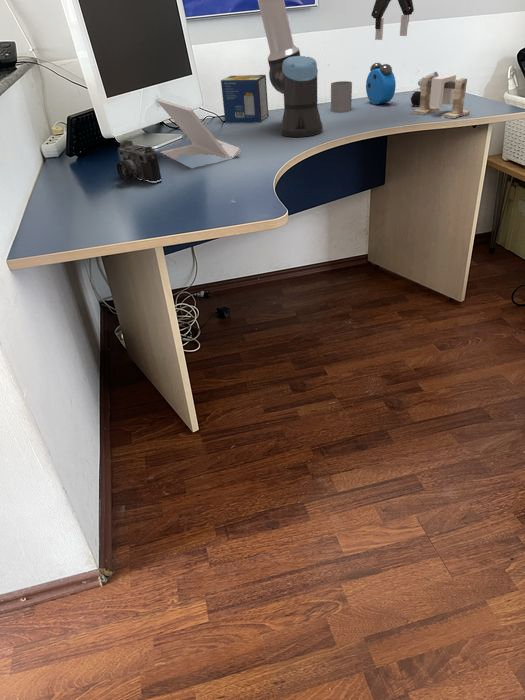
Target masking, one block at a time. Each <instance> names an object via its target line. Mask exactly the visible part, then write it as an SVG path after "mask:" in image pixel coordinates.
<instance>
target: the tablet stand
mask: <svg viewBox="0 0 525 700" xmlns="http://www.w3.org/2000/svg"><path fill="white" fill-rule="evenodd" d="M156 102H157V103H158V104H159V105H160V107H162V109H163V110H164V111H165V112H166V114H167V115H168V116H169V117H170V118H171V119H172V121H174V123H175V124H176V125H177V127H179V129H180V130H181V131H182V132H183V134H184V135H185V136H186V137H187V138H188V139H189V140H190V142H191V143H190V144H189V145H184V146H181V147H176V148H172V149H167V150H163V151H160V154H161V153H163V154H165V155H167V156H169V157H171V158H173V159H175V160H176V159H177V157H178V158H179V155H181V154H182V155H183V154H184V153H185V154H186V153H187V154H188V155H191V156H192V155H193V156H194V155H195V154H196V155H198V154H204V155H208V154H209V155H216V156H219V157H222V158H229V157H230V156H232V157H234V156H236V157H237V156H238V155H239V154H240V153H241V151H242V150H241V148H240V147H239V146H235V145H232V144H231V143H228V142H224V141H222V140H220V139H216V137H215V136H214V135H213V134H212V133H211V131H210V130H209V129H208V127H207V126H206V125H205V123H203V121H202V120H201V118H200V117H199V116H198V115H197V114H196V113H195V112H194V110H193V109H192V108H190V107H186V106H183V105H181V104H177V103H174V102H171V101H167V100H164V99H161V98H158V100H157V101H156ZM185 154H184V155H185ZM187 154H186V155H187Z"/></svg>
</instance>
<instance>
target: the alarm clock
mask: <svg viewBox="0 0 525 700" xmlns="http://www.w3.org/2000/svg"><path fill="white" fill-rule="evenodd" d="M369 70H370V72H369V73H368V74H367V78H366V83H365V91H366V95H367V99H368V100H369V102H370V103H371V104H373V105H379V104H381V105H382V104H386V103H387V104H388V105H389V104H390V102H391V101H392V99H393V98H394V96H395V93H396V85H397V84H396V77H395V75H394V72H393V68H392V66H391V65H390V64H388V63H383V64H382V63H380V62H374V63H373V64H372V65H371V66H370V69H369Z"/></svg>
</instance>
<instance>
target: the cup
mask: <svg viewBox="0 0 525 700" xmlns="http://www.w3.org/2000/svg"><path fill="white" fill-rule="evenodd" d="M352 91H353V82H352V81H348V80H347V81H346V80H343V81H334V82H331V83H330V112H332V111H333V112H332V113H347V112H350V111H352V103H353V102H352V97H353V96H352V95H353V93H352ZM346 111H347V112H346Z"/></svg>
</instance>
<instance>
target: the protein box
mask: <svg viewBox="0 0 525 700" xmlns="http://www.w3.org/2000/svg"><path fill="white" fill-rule="evenodd" d="M220 85H221V94H222V104H223V114H224V122H225V123H252V122H259V123H262V120H263V121H264V120H265V118H266V119H268V116H269V102H268V89H267V76H266V74H252V75H251V74H250V75H249V74H247V75H245V74H244V75H243V74H241V75H240V74H239V75H229V76H227V77H225V78H222V79H221V80H220Z"/></svg>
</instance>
